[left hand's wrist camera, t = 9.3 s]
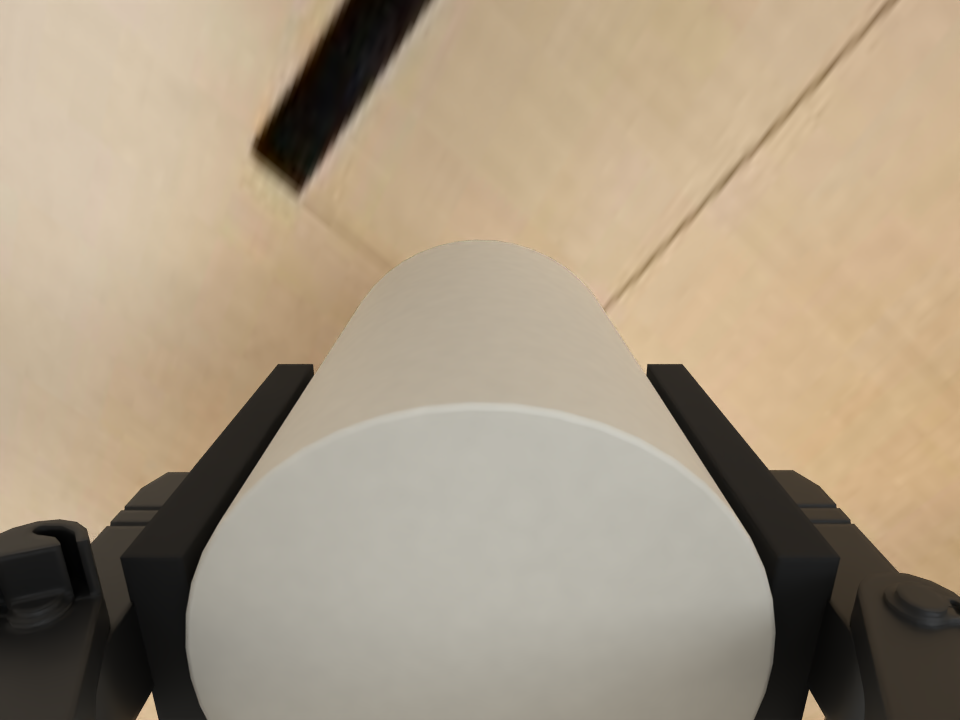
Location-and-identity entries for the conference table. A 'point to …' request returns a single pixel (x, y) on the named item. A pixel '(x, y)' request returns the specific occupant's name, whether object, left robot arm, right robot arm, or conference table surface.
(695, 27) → the conference table surface
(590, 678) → the can
